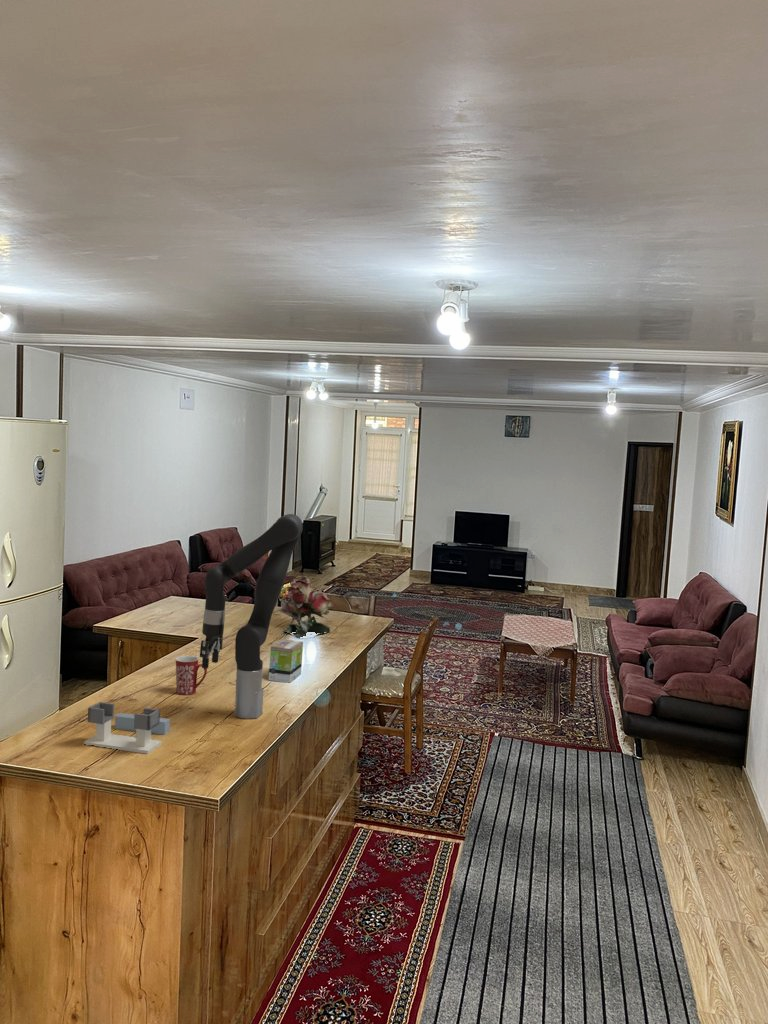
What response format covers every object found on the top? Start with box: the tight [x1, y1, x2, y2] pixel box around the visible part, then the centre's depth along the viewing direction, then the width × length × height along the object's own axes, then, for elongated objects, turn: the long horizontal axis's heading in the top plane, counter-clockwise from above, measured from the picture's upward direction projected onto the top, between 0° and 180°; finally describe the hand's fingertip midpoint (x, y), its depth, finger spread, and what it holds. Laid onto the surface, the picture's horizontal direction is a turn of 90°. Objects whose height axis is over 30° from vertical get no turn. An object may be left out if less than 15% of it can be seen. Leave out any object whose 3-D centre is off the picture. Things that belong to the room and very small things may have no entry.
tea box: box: [268, 639, 304, 683], centre depth 339 cm, size 15×10×15 cm, turn 168°
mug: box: [174, 655, 208, 696], centre depth 311 cm, size 13×9×14 cm
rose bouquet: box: [279, 575, 334, 638], centre depth 427 cm, size 26×29×30 cm
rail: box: [114, 712, 171, 735], centre depth 268 cm, size 18×4×4 cm, turn 79°
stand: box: [83, 701, 162, 755], centre depth 254 cm, size 22×9×12 cm, turn 78°
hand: (210, 665), depth 289 cm, fingers open, 8 cm apart
